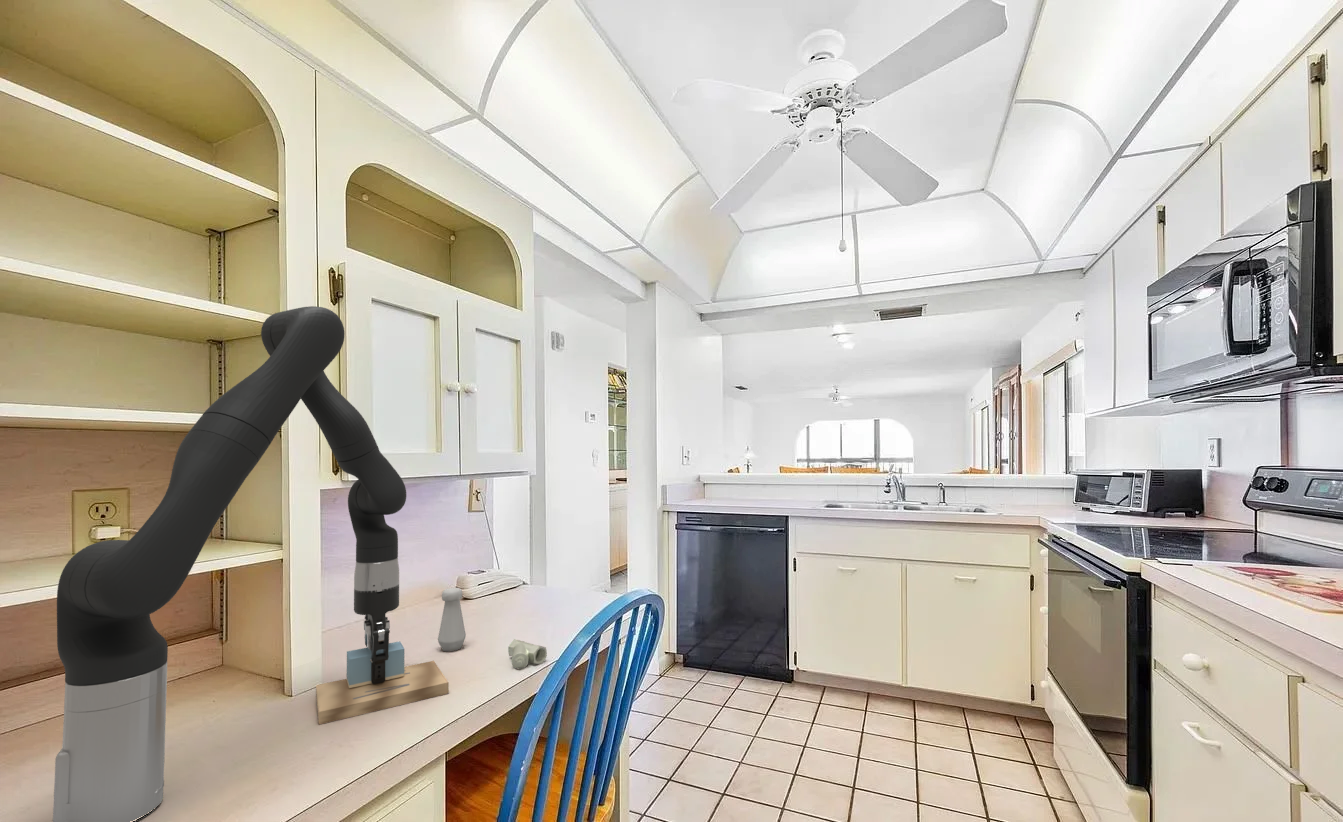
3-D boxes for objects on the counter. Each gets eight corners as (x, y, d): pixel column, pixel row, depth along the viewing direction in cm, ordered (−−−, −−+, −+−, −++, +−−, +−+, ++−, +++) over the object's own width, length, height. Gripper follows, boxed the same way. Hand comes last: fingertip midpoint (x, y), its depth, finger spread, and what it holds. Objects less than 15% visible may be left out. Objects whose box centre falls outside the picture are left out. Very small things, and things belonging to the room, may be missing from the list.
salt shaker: (456, 653, 125) (456, 592, 126) (432, 652, 126) (432, 591, 127) (470, 644, 130) (470, 586, 131) (447, 643, 132) (447, 585, 132)
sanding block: (348, 688, 102) (349, 659, 103) (346, 679, 106) (346, 651, 107) (404, 676, 107) (404, 648, 108) (400, 667, 111) (400, 641, 112)
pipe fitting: (521, 675, 114) (547, 661, 119) (520, 655, 114) (546, 642, 119) (495, 666, 119) (521, 654, 124) (494, 647, 119) (520, 636, 124)
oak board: (318, 724, 93) (319, 711, 94) (316, 696, 104) (316, 684, 104) (448, 693, 104) (448, 682, 105) (433, 670, 115) (433, 660, 115)
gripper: (350, 580, 112) (349, 670, 111) (358, 595, 100) (357, 696, 99) (393, 574, 116) (392, 661, 115) (405, 588, 104) (404, 685, 103)
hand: (376, 677), depth 107 cm, fingers closed on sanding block, 5 cm apart
